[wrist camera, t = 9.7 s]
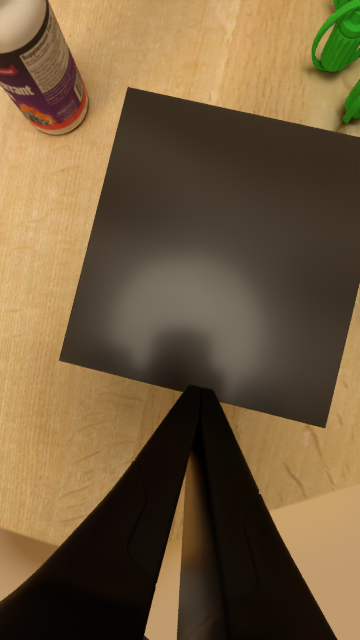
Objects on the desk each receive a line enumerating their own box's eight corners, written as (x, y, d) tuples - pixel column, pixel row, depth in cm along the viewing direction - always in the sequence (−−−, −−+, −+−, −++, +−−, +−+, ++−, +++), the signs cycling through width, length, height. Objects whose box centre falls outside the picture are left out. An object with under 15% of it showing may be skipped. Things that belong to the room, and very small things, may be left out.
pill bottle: (12, 111, 21) (-140, -73, 11) (52, 60, 21) (-66, -170, 11) (62, 150, 21) (-47, -2, 11) (103, 98, 21) (29, -101, 11)
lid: (130, 100, 14) (127, 86, 13) (380, 154, 13) (393, 143, 13) (65, 358, 14) (58, 360, 13) (317, 422, 13) (325, 428, 12)
